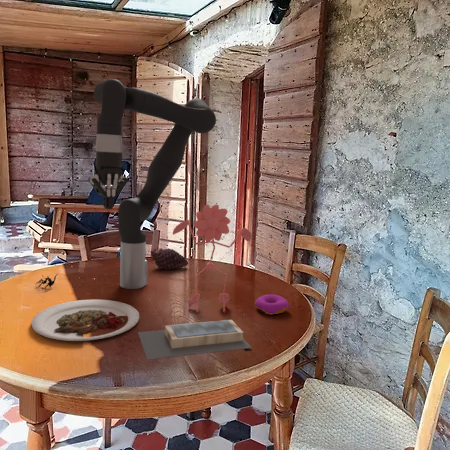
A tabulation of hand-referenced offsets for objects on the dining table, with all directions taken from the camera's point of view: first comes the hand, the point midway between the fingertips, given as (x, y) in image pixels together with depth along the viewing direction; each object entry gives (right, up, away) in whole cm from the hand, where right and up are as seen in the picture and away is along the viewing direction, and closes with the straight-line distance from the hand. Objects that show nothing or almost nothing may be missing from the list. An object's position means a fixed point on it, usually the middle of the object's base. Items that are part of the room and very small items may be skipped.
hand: (108, 208), depth 126 cm
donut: (+51, -34, +15) cm, 63 cm away
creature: (-30, -28, +25) cm, 48 cm away
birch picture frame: (+20, -35, -13) cm, 42 cm away
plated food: (-6, -34, -3) cm, 35 cm away
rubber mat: (+26, -37, -11) cm, 47 cm away
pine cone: (+11, -24, +57) cm, 63 cm away
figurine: (+29, -33, +16) cm, 47 cm away
